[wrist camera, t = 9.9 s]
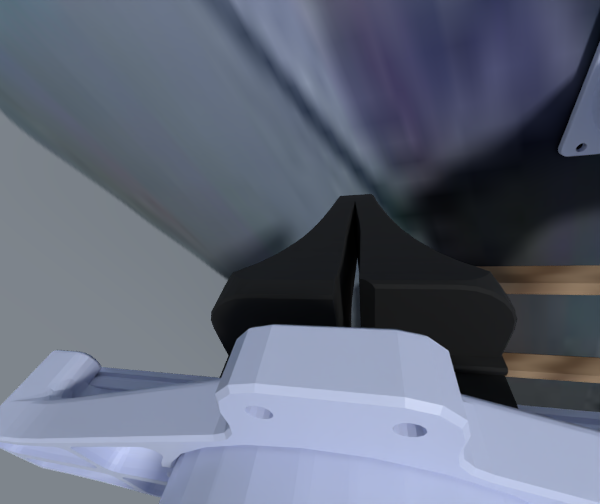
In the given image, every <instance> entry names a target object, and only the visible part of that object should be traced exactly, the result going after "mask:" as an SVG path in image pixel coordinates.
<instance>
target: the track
mask: <svg viewBox="0 0 600 504" xmlns="http://www.w3.org/2000/svg"><path fill="white" fill-rule="evenodd" d="M476 267H479V268H482V269H485V270H488V271H490V272H491V273H492V275H493V276H494V277H495V279H496V280H497V281H498V283H499V284H500V285H501V287H502V288H503V290H504V291H505V293H506V294H561V295H600V266H476ZM502 356H503V358H504V361H505V363H506V365H507V367H508V374H507V377H521V378H535V379H549V380H563V381H577V382H591V383H600V358H591V357H573V356H554V355H536V354H518V353H503V355H502Z"/></svg>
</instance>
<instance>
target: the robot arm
mask: <svg viewBox="0 0 600 504" xmlns="http://www.w3.org/2000/svg"><path fill="white" fill-rule="evenodd" d="M582 143H583V145H582V147H581V148H579V149H578V150H576V147H577V146H578V145H580V144H582ZM558 152H559V154H561V155H563V156H566V157H569V156H581V155H593V154H600V42H599V45H598V47H597V50H596V53H595V55H594V58H593V60H592V63H591V65H590V68H589V70H588V73H587V76H586V78H585V81H584V83H583V86H582V88H581V91H580V93H579V96H578V99H577V101H576V104H575V106H574V109H573V111H572V114H571V116H570V119H569V122H568V124H567V127H566V129H565V132H564V134H563V137H562V139H561V142H560V145H559V147H558ZM357 258H358V266H359V286H360V313H361V328H356V327H351V306H352V295H353V287H354V280H355V272H356V264H357ZM211 321H212V324H213V327H214V329H215V331H216V333H217V335H218V337H219V339H220V340H221V342H222V344H223V346H224V348H225V350H226V351H227V353H228V355H229V356H228V358H227V361H226V363H225V366H224V368H223V371H222V373H221V376H220V378H216V377H206V376H194V375H183V374H173V373H162V372H150V371H138V370H128V369H117V368H106V367H101V365H100V363H99V362H98V361H97V360H96V359H94V358H93V357H92V356H91V355H89V354H87V353H83V352H78V351H65V350H54V351H52V352H51V354H50V355H48V357H47V358H46V359H45V360H44V361H43V362H42V363H41V364H40V365H39V366H38V367H37V368H36V369H35V370H34V371H33V372H32V373H31V374H30V375H29V376H28V377H27V379H25V381H24V382H23V383H22V384H21V385H20V386H19V387H18V388H17V389H16V390H15V391H14V392H13V393H12V394H11V395H10V396H9V397H8V398H7V399H6V400H5V401H4V402H3V404H1V405H0V449H3V450H5V451H7V452H9V453H11V454H13V455H16V456H17V457H20V458H22V459H24V460H26V461H28V462H31V463H32V464H35V465H37V466H39V467H41V468H44V469H49V470H54V471H58V472H63V473H68V474H72V475H76V476H80V477H84V478H88V479H92V480H96V481H100V482H104V483H108V484H111V485H115V486H119V487H123V488H126V489H130V490H134V491H137V492H141V493H145V494H149V495H153V496H156V497H160V498H161V499H160V501H159V504H600V412H591V411H580V410H569V409H558V408H547V407H536V406H525V405H517V404H516V401H515V399H514V397H513V394H512V392H511V390H510V387H509V385H508V382H507V380H506V378H505V376H507V374H508V367H507V365H506V363H505V361H504V358H503V356H502V355H503V352H504V350H505V348H506V346H507V344H508V342H509V340H510V338H511V336H512V334H513V332H514V330H515V326H516V322H517V316H516V312H515V309H514V307H513V305H512V303H511V301H510V300H509V298H508V296H507V294H506V293H505V291H504V290H503V288H502V287H501V285H500V284H499V283H498V281H497V280H496V279H495V277H494V276H493V275H492V273H491V272H490V271H488V270H485V269H482V268H479V267H476V266H473V265H470V264H466V263H463V262H460V261H458V260H455V259H453V258H451V257H448V256H446V255H444V254H441V253H439V252H437V251H435V250H433V249H431V248H430V247H428V246H426V245H424V244H423V243H421V242H419V241H418V240H416V239H414V238H413V237H411V236H410V235H409V234H407V233H406V232H405V231H403V230H402V229H401V228H400V227H399V226H398V225H397V224H396V223H395V222H394V221H393V220H392V219H391V218H390V217H389V216H388V215H387V214H386V213H385V212H384V210H383V209H382V208H381V206H380V205H379V204H378V202H377V201H376V199H375V197H374V196H373V195H372V194H365V195H349V196H340V197H339V198H338V199H337V201H336V202H335V204H334V205H333V206H332V208H331V209H330V210H329V211H328V213H327V214H326V215H325V216H324V217H323V219H322V220H321V221H320V222H319V223H318V224H317V225H316V226H315V227H314V228H313V229H312V230H311V231H310V232H309V233H307V234H306V235H305V236H304V237H302V238H301V239H300V240H298V241H297V242H296V243H294V244H293V245H291V246H289V247H288V248H286V249H285V250H283V251H281V252H280V253H278V254H276V255H274V256H272V257H270V258H268V259H266V260H264V261H262V262H259V263H257V264H255V265H252V266H249V267H247V268H244V269H241V270H239V271H236V272H233V273H232V275H231V276H230V278H229V280H228V281H227V283H226V285H225V287H224V289H223V291H222V293H221V295H220V297H219V298H218V300H217V302H216V304H215V306H214V308H213V310H212V312H211Z"/></svg>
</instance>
